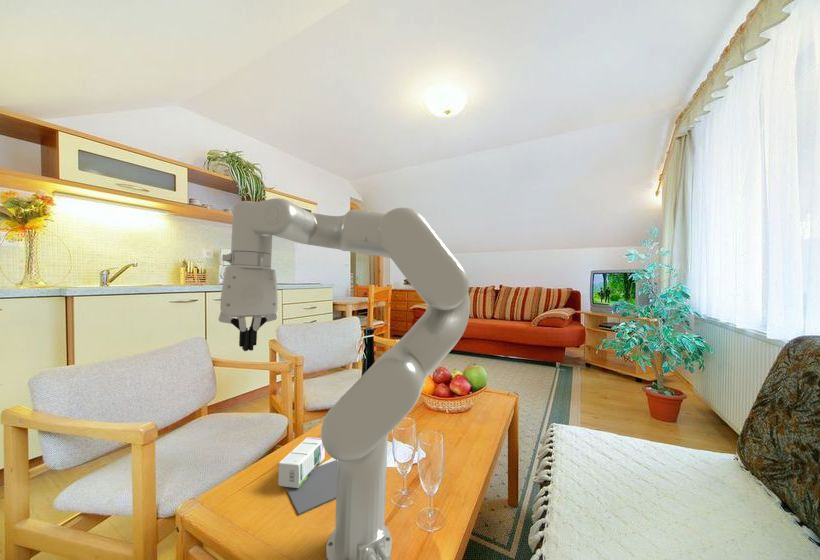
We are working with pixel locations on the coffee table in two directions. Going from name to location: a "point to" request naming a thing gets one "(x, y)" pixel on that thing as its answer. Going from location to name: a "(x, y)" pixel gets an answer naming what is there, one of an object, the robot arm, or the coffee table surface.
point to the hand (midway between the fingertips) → (247, 349)
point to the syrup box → (301, 462)
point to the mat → (315, 488)
